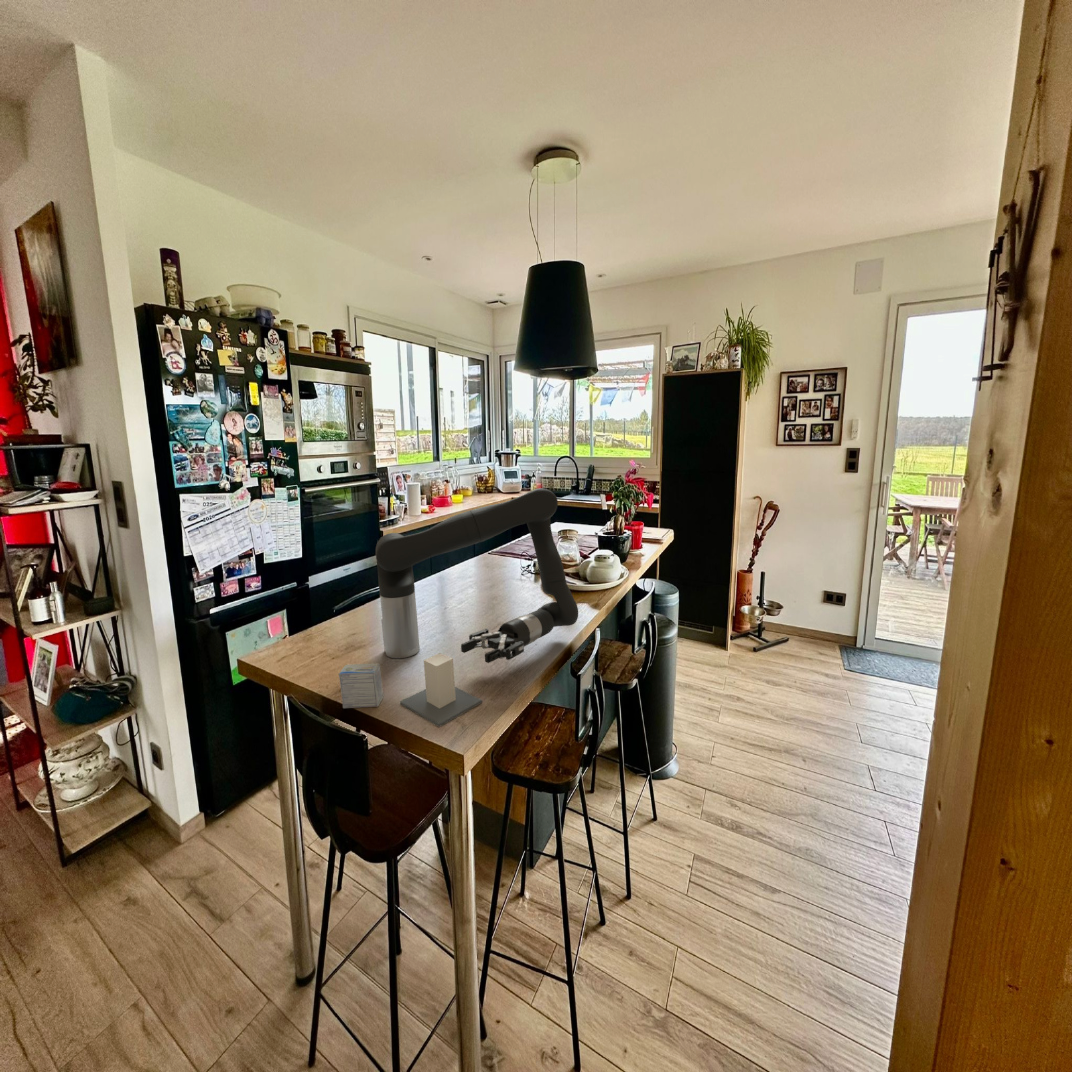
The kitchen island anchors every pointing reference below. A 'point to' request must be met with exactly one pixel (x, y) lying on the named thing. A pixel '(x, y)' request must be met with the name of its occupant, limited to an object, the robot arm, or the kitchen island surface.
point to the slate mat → (445, 713)
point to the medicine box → (361, 685)
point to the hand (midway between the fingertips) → (473, 653)
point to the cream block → (439, 680)
